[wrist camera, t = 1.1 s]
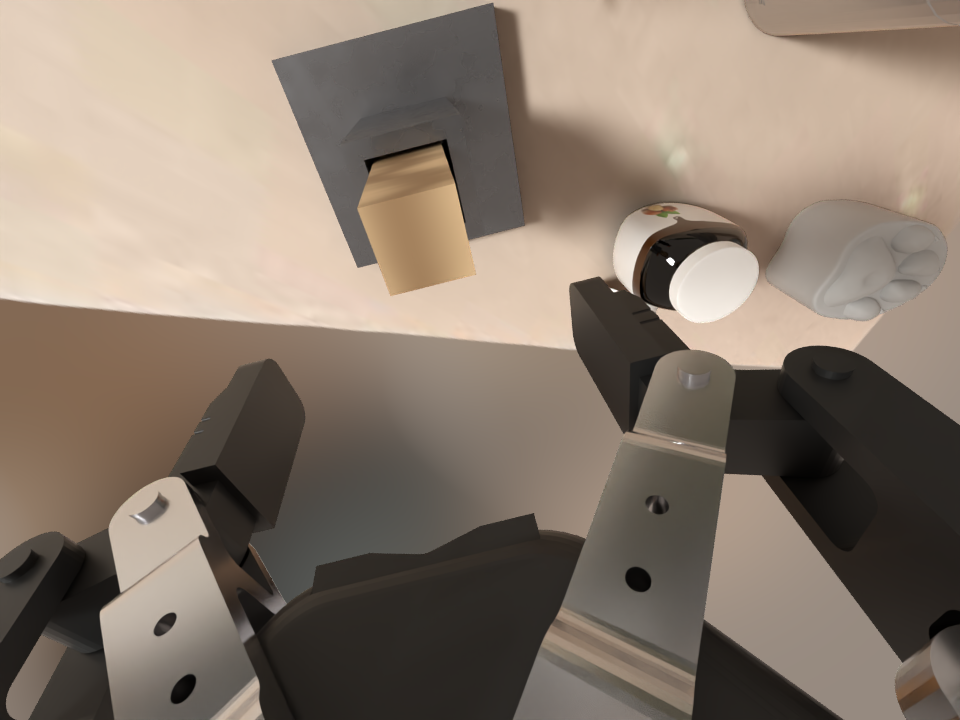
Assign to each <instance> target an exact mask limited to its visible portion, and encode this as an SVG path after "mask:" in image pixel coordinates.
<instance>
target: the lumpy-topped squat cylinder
mask: <svg viewBox="0 0 960 720" xmlns="http://www.w3.org/2000/svg"><path fill="white" fill-rule="evenodd" d="M946 257H947V242H946V240H945V237H944V236H943V234H942V232H941V231H940V230H939V228H938V227H936V226H935V225H933V224H930V223H928V222H925V221H922V220H919V219H915V218H912V217H909V216H906V215H903V214H900V213H897V212H893V211H890V210H887V209H884V208H881V207H878V206H875V205H871V204H868V203H865V202H860V201H853V200H824V201H820V202H817V203H814V204H812V205H810V206H808V207H806V208H805V209H803V210H802V211H801V212H800V213H798V214H797V215H796V216H795V218H794V219H793V220H792V222H791V223H790V225H789V227H788V229H787V232H786V234H785V237H784V239H783V242H782V244H781V246H780V247H779V249H778V250H777V252H776V253H775V255H774V256H773V258H772V259H771V261H770V262H769V264H768V266H767V269H766V279H767V281H768V282H769V283H770V284H771V285H772V286H774V287H775V288H777V289H779V290H780V291H782V292H783V293H785V294H787V295H788V296H790V297H791V298H793V299H795V300H796V301H798V302H799V303H801V304H803V305H804V306H806V307H807V308H809V309H811V310H812V311H814V312H815V313H817V314H819V315H821V316H824V317H828V318H836V319H851V320H855V321H868V320H871V319H873V318H875V317H876V316H877V315H879V314H882V313H884V312H887V311H889V310H892V309H894V308H896V307H899V306H901V305H902V304H904V303H906V302H907V301H909V300H912V299H914V298H915V297H917V296H918V295H919V294H920V293H921V292H923V291H924V290H925V289H927V288H928V287H929V286H930V285H931V284H932V283H933V282H934V281H935V279H936V278H937V277H938V275H939V274H940V272H941V270H942V268H943V266H944V264H945V261H946Z"/></svg>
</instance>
